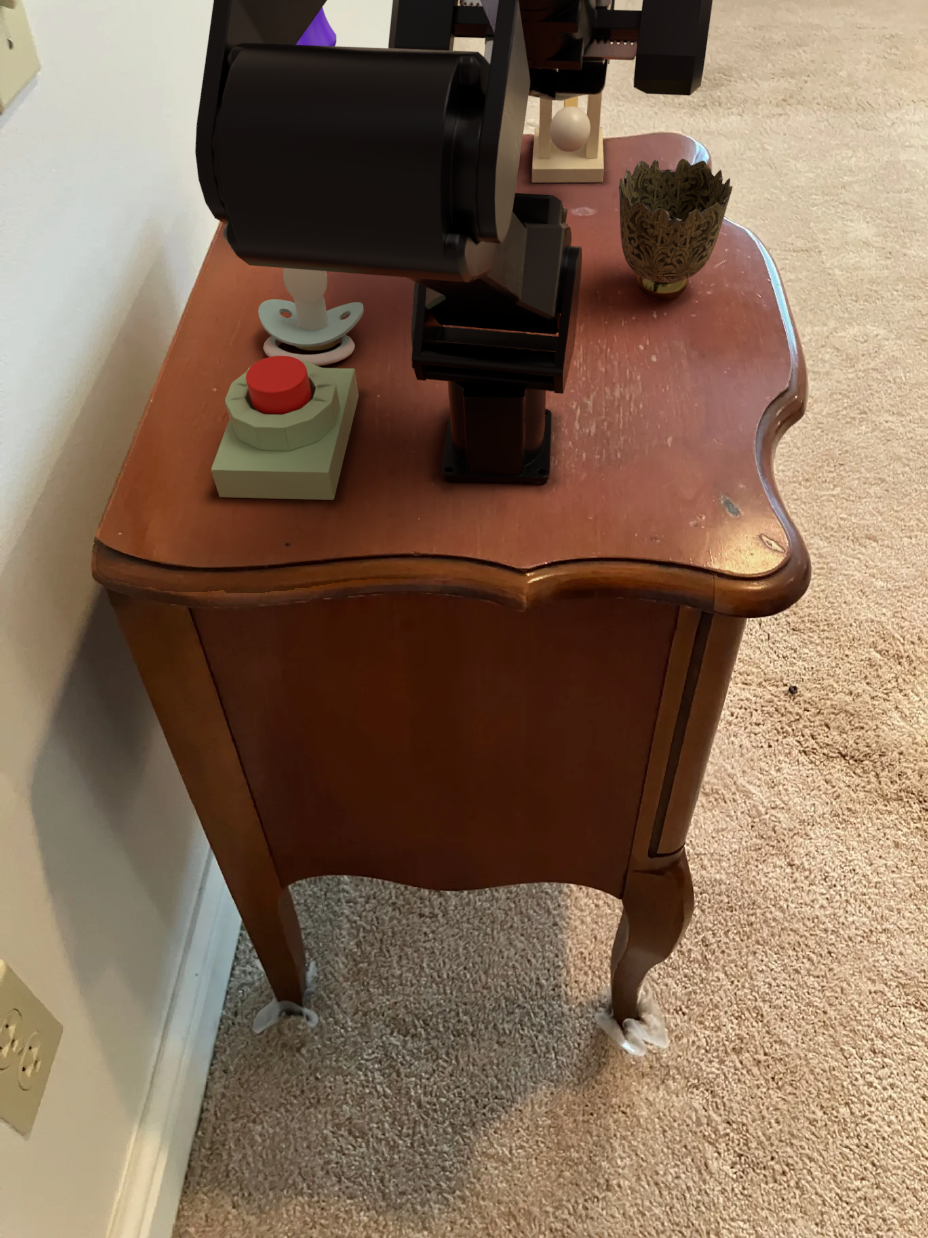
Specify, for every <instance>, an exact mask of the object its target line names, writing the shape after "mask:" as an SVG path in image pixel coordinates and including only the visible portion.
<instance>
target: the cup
mask: <svg viewBox="0 0 928 1238" xmlns="http://www.w3.org/2000/svg"><path fill="white" fill-rule="evenodd" d="M659 165H660V164H659V161H658V159H654V160H653V161H652V163H651V164H650V165H649V164H648V163H647V162H646V161H644V160H640V161H639V162H638V163H637V164H636V166H635V167H634V170H633V173H631V171H630V169H629V168H627V169H626V170H625V172H624V177H623V178H622V177H620V179H619V185H618V193H619V228H620V229H619V230H620V242H621V243H620V244H621V248H622V253H623V257H624V259H625V261H626V263H627V265H628V267H629V268H630V269H631V270H632V271H633V272H634V273H635V274H636V275H637V276H636V284H637V287H638V289H639V291H640V292H641V293H642V294H643V295H644V296H646V297H648V298H649V299H654V300H660V301H668V300H673V299H675V298H677V297H680V296H681V295H682V294H683V293H684V292H685V290H686V289H687V288H688V285H689V278H692V277H693V276H695V275H696V274H697V273H699V272H701V270H702V269H703V268H704V267H705V265H706V264H707V262H708V261H709V259H711V255H712V254H713V251H714V249H715V246H716V244H717V241H718V238H719V234H720V231H721V228H722V225H723V222H724V218H725V215H726V212H727V207H728V205H729V202H730V198H731V195H732V191H733V185H731V178H730V177H729V178H728V179H726V180H725V182H723V181H724V178H723V171H722V169H720V170H718V171H717V172H716V173H715V175H714V174H713V170H712V169H711V167H709V165H708V164H707V161H705V160H699V161H697V162H696V163H693V164H690V161H689V160H687V159H685V158H680V159H679V161H678V163H677V165H676V168H675V169H672V170H671V169H669V168H666V169H661V168H660V167H659Z"/></svg>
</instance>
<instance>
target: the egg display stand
mask: <svg viewBox="0 0 928 1238" xmlns="http://www.w3.org/2000/svg"><path fill="white" fill-rule="evenodd" d="M610 61H611V60H610V59H608V65H610V63H611V62H610ZM602 100H603V91H602V92H601V93H599V94H597V95H587V102H586V103H587V105H586V115H587V116H588V119H589V121H590V135H589V138H588V140H587V142H586V143H585V144H584V145H583V146H582V147H581V148H580V149H578V150H576V151H573V152H565V151H562V150H560V149H558V148H557V147H556V146H555V145H554V143H553V142H552V140H551V136H550V124H551V121H552V119H553V100H547V99H543V98H539V117H538V118H539V120H538V121H539V122H538V124H539V125H538V127H537V126H535V127H534V133H533V134H534V135H533V151H532V166H531V183H534V184H535V183H536V184H537V183H538V184H539V183H604V173H605V172H604V171H605V167H604V166H605V163H604V162H605V161H604V137H603V126H601V115H602V113H601V112H602Z"/></svg>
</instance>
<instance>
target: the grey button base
mask: <svg viewBox="0 0 928 1238" xmlns="http://www.w3.org/2000/svg"><path fill="white" fill-rule="evenodd" d="M302 362H303V363H304V365H305V366H306V369H307V373H308V378H309V383H310V388H311V398H310V400H309V402H308V403H307V404H306V405H305V406H303V407H302V408H301V409H299V410H296V411H293V412H289V413H286V414H283V415H271V414H263V413H261V412H259V411H258V410H256V409H255V408H254V406H253V404H252V401H251V398H250V394H249V390H248V386H247V382H246V374H247V372H248V370H249V368H250V367H251V366H248V368H247V370H246V371H245V372H244V373H243V374H241V375H240V376H239V377H238V378H236V379H234V380H233V381H232V382H231V383H230V386H229V388H228V391H227V393H226V396H225V399H224V405H225V407H226V411H227V415H228V418H229V419H228V422H227V425H226V428H225V430H224V433H223V435H222V438H221V441H220V443H219V446H218V448H217V451H216V454H215V456H214V459H213V462H212V465H211V468H210V472H211V475H212V478H213V481H214V484H215V487H216V491H217V494H218V497H219V498H237V499H238V498H239V499H240V498H241V499H243V498H244V499H278V500H279V499H281V500H316V501H317V500H322V501H334V500H335V496H336V493H337V489H338V485H339V481H340V477H341V472H342V467H343V463H344V459H345V454H346V451H347V447H348V443H349V439H350V435H351V430H352V425H353V421H354V417H355V413H356V409H357V405H358V401H359V396H360V394H359V387H358V382H357V376H356V369H355V368H352V367H351V368H350V367H349V368H346V367H321V366H316V365H314V364H312V363H309V362H307V361H302Z"/></svg>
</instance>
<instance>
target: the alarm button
mask: <svg viewBox="0 0 928 1238" xmlns="http://www.w3.org/2000/svg"><path fill="white" fill-rule="evenodd" d="M249 367H250V368H249ZM249 367H248V368H249V370H248V369H247V370H248V372H247V371H246V372H247V374H246V382H247V386H248V390H249V394H250V398H251V401H252V404H253V406H254V408H255V409H256V410H258V411H259V412H261V413H263V414H271V415H283V414H286V413H289V412H293V411H296V410H299V409H301V408H302V407H303V406H305V405H306V404H307V403H308V402H309V400H310V398H311V388H310V383H309V378H308V373H307V369H306V366H305V365H304V363H303V362H302V361H300V360H299V359H297V358H294V357H290V356H272V357H269V356H268V357H264V358H261V359H260V360H258V361H256V362H255V363H253V364H252V365H251V366H249Z"/></svg>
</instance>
